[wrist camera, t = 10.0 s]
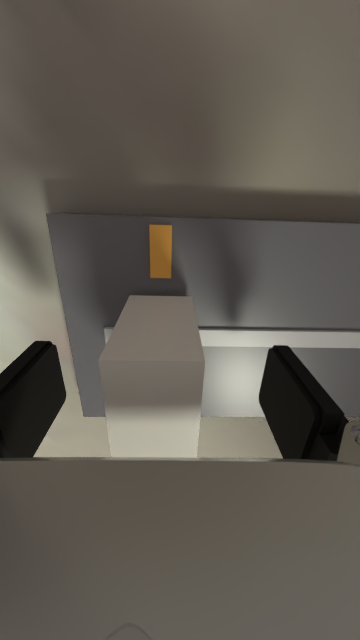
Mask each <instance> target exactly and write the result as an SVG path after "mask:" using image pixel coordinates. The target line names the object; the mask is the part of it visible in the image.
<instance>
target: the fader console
mask: <svg viewBox="0 0 360 640" xmlns="http://www.w3.org/2000/svg"><path fill="white" fill-rule="evenodd" d="M46 216H47V221H48V226H49V232H50V237H51V243H52V248H53V254H54V259H55V264H56V270H57V275H58V281H59V286H60V291H61V297H62V302H63V308H64V313H65V319H66V324H67V329H68V335H69V340H70V346H71V351H72V356H73V362H74V367H75V373H76V378H77V384H78V389H79V394H80V400H81V405H82V411H83V416H84V417H106V414H105V407H104V399H103V392H102V384H101V377H100V369H99V362H98V360H99V358H100V356H101V354H102V352H103V350H104V348H105V345H106V343H107V341H108V339H109V337H110V335H111V333H112V331H113V329H114V327H115V325H116V323H117V321H118V319H119V317H120V314H121V312H122V310H123V308H124V306H125V304H126V302H127V300H128V298H129V296H130V295H143V296H192V301H193V305H194V310H195V315H196V320H197V324H198V329H199V334H200V339H201V343H202V348H203V353H204V357H205V370H204V382H203V393H202V404H201V415H200V417H265V415H264V413H263V411H262V408H261V406H260V403H259V392H260V387H261V382H262V377H263V373H264V368H265V363H266V358H267V354H268V350H269V349H270V348H272V347H273V346H274V345H287V346H289V347H290V348H291V350H292V351H293V352H294V353H295V354H296V356H297V357H298V358H299V359H300V361H301V362H302V363H303V364H304V365H305V367H306V368H307V369H308V370H309V371H310V373H311V374H312V375H313V376H314V377H315V379H316V380H317V381H318V382H319V383H320V385H321V386H322V387H323V388H324V389H325V391H326V392H327V393H328V394H329V395H330V397H331V398H332V399H333V400H334V401H335V403H336V404H337V405H338V406H339V408H340V409H341V410H342V411H343V412H344V414H345V415H344V416H345V417H360V223H352V222H322V221H291V220H261V219H230V218H199V217H169V216H138V215H108V214H77V213H51V214H46Z"/></svg>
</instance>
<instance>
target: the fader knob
mask: <svg viewBox="0 0 360 640" xmlns="http://www.w3.org/2000/svg"><path fill="white" fill-rule="evenodd" d="M98 362H99V369H100V377H101V384H102V392H103V399H104V407H105V414H106V422H107V429H108V437H109V445H110V452H111V457H184V458H197V448H198V437H199V426H200V415H201V404H202V393H203V382H204V370H205V357H204V353H203V348H202V343H201V339H200V334H199V329H198V324H197V320H196V315H195V310H194V305H193V301H192V296H143V295H130V296H129V298H128V300H127V302H126V304H125V306H124V308H123V310H122V312H121V314H120V317H119V319H118V321H117V323H116V325H115V327H114V329H113V331H112V333H111V335H110V337H109V339H108V341H107V343H106V345H105V348H104V350H103V352H102V354H101V356H100V358H99V360H98Z"/></svg>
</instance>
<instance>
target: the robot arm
mask: <svg viewBox="0 0 360 640" xmlns="http://www.w3.org/2000/svg"><path fill="white" fill-rule="evenodd" d="M65 399H66V390H65V386H64V381H63V376H62V371H61V366H60V362H59V357H58V352H57V348H56V345H53V344H52V343H51V342H50V341H35V342H34V343H32V344H31V345H30V346H29V347H28V348H27V349H26V350H25V351H24V352H23V353H22V354H21V355H20V356H19V357H18V358H17V359H15V360H14V361H13V362H12V363H11V364H10V365H9V366H8V367H7V368H6V369H5V370H4V371H3V372H2V373H1V374H0V640H360V421H351V422H349V421H348V420H347V419H346V417H345V416H344V415H345V414H344V412H343V411H342V410H341V409H340V408H339V406H338V405H337V404H336V403H335V401H334V400H333V399H332V398H331V397H330V395H329V394H328V393H327V392H326V391H325V389H324V388H323V387H322V386H321V385H320V383H319V382H318V381H317V380H316V379H315V377H314V376H313V375H312V374H311V373H310V371H309V370H308V369H307V368H306V367H305V365H304V364H303V363H302V362H301V361H300V359H299V358H298V357H297V356H296V354H295V353H294V352H293V351H292V350H291V348H290V347H289V346H287V345H274V346H273V347H272V348H270V349H269V350H268V354H267V358H266V363H265V368H264V373H263V377H262V382H261V387H260V392H259V403H260V406H261V408H262V411H263V413H264V415H265V417H266V420H267V422H268V424H269V427H270V429H271V431H272V434H273V436H274V438H275V440H276V443H277V445H278V447H279V450H280V452H281V454H282V457H283V459H274V458H184V457H33V456H34V454H35V452H36V451H37V449H38V447H39V446H40V444H41V442H42V440H43V439H44V437H45V435H46V433H47V432H48V430H49V428H50V426H51V425H52V423H53V421H54V419H55V418H56V416H57V414H58V412H59V411H60V409H61V407H62V405H63V404H64V402H65Z"/></svg>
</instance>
